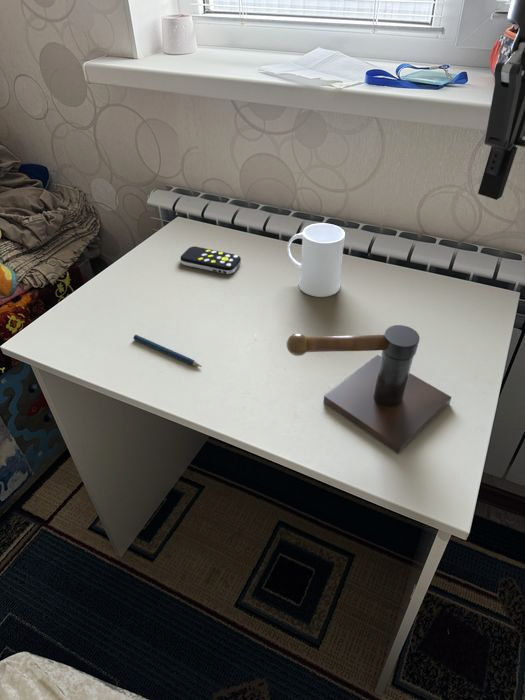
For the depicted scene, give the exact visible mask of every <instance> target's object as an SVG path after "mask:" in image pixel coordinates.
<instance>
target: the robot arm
mask: <svg viewBox="0 0 525 700" xmlns="http://www.w3.org/2000/svg"><path fill="white" fill-rule="evenodd" d="M507 21H508V22H509V23H510V24H512V25H516V26H517V27H518V31H517V33H516V36H515V38H514V41H513V42H512V45H511V47H510V49H509V52H508V56H507V61H501V60H499V61H498V62H497V63H496V65H495V68H494V87H493V91H492V92H493V93H492V98H491V104H490V109H489V116H488V120H487V126H486V131H485V137H484V145H486V146H488V147H489V146H490V149H489V154H488V156H487V159H486V160H487V161H486V164H485V168H484V171H483V174H482V178H481V181H480V184H479V189H478V192H477V195H480V196H483V197H486V198H489V199H493V200H495V201H498V200H499V199H500V198H502V197H503V195H504V191H505V189H506V185H507V182H508V179H509V176H510V172H511V170H512V167H513V163H514V161H515V157H516V154H517V152H518V148H519V147H521V148H525V139H524V138H525V0H511V2H510V6H509V10H508V12H507Z"/></svg>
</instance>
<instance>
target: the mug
mask: <svg viewBox="0 0 525 700" xmlns="http://www.w3.org/2000/svg"><path fill="white" fill-rule="evenodd" d="M345 237H346V232H345V230H344V229H342V227H340V226H338V225H335V224H331V223H326V222H325V223H312V224H310V225H307V226H306V227H305V228H304V229H303V230H302V232H300V233H296V234H294V235H293V236H291V238H290V239H289V240H288V242H287V245H286V253H287V257H288V259H289V260H290V262H291V264H292V265H293V266H295V267H296V268H298V270H300V273H299V280H298V288H299V289H300V291H302V292H303V293H304V294H306V295H309V296H312V297H318V298H326V297H330V296H333V295H336V293H338V292H339V291H340V289H341V272H342V263H343V256H344V255H343V254H344V248H345V247H344V245H345ZM297 239H302V240H301V256H300V257H301V258H300V262H298V261H297V260H296V259H295V258H294V257H293V255H292V253H291V245H292V243H293V241H295V240H297Z"/></svg>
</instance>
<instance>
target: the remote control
mask: <svg viewBox="0 0 525 700" xmlns="http://www.w3.org/2000/svg"><path fill="white" fill-rule="evenodd" d="M179 258H180V263H181V265H183V266H187V267H190V268H195V269H200V270H205V271H209V272H215V273H219V274H224V275H231V274H234V272H236V270H237V269H238V268H239V267H240V266H241V264H242V258H241V256H240V255H238V254H235V253H231V252H225V251H220V250H216V249H215V250H214V249H210V248H205V247H201V246H190V247H188V248H187V249H186V250H185V251H184V252H183V253H182V254H181V256H180V257H179Z"/></svg>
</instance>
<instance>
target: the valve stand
mask: <svg viewBox="0 0 525 700" xmlns="http://www.w3.org/2000/svg"><path fill="white" fill-rule="evenodd" d="M414 356H415V355H414ZM414 356H413V357H412V358H410V359H405V360H400V359H395V358H392V357H390V356H388V355H387V354H386V353H385V352H384V351H383V350H381V355H379V354H376V355H375V356H374V357H372V358H371V359H369V361H367V362H366V363H364V365H362V366H361V367H359V368H358V369H357V370H356V371H354V372H353V373H352V374H351V375H349V376H348V377H346V378H345V379H344V380H343V381H341V382H340V383H339V384H338V385H336V386H335V387H333V388H332V389H331V390H330V391H328V392H327V393H326V394H325V395H323V403H324V404H325V405H326V406H328V407H329V408H331V409H332V410H333V411H335V412H336V413H338V414H339V415H341V416H342V417H344V418H345V419H347V420H348V421H349V422H351V423H352V424H354V425H356V426H357V427H358V428H359V429H361V430H363V431H364V432H366V433H367V434H368V435H370V436H371V437H372V438H374V439H376V440H377V441H379V443H381V444H383V445H385V446H386V447H387V448H388V449H390V450H391V451H393V452H395V453H396V454H397V455H398V454H400V453H401V452H402V451H403V450H404V449H405V448H406V447H407V446H408V445H409V444H411V442H412V441H413V440H414V439H415V438H416V437H417V436H418V435H419V434H420V433H421V432H422V431H423V430H424V429H425V428H426V427H428V425H429V424H430V423H431V422H432V421H433V420H435V419H436V418H437V416H439V414H440V413H442V412H443V411H444V410H445V409H446V408H447V407H448V406H449V405H450V403H451V400H452V396H450V395H449V394H447V393H446V392H444V391H442V390H440V389H438V388H436V387H435V386H433V385H431V384H430V383H428V382H426V381H424V380H423V379H421V378H419V377H418V376H416V375H414V374H412V373H411V372H410V371H411V368H412V365H413V361H414V360H413V359H414Z"/></svg>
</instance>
